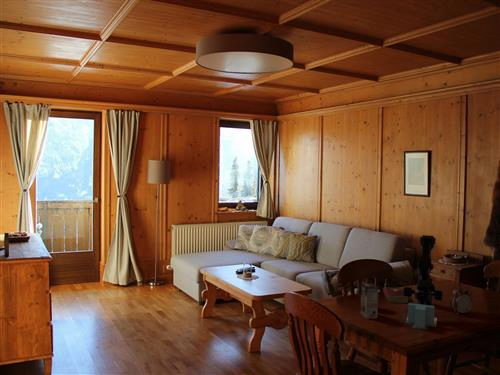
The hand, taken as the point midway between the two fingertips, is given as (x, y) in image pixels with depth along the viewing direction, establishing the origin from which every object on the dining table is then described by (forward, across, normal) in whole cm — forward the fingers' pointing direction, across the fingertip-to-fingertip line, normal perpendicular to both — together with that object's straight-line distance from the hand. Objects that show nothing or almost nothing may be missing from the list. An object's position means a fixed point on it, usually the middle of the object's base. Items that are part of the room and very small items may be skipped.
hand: (421, 308), depth 234 cm
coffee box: (+7, -26, +3) cm, 27 cm away
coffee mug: (-4, -27, +14) cm, 31 cm away
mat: (+6, 0, +3) cm, 7 cm away
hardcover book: (-23, -17, +34) cm, 44 cm away
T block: (+10, 0, -1) cm, 10 cm away
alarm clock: (-12, +18, +22) cm, 31 cm away
